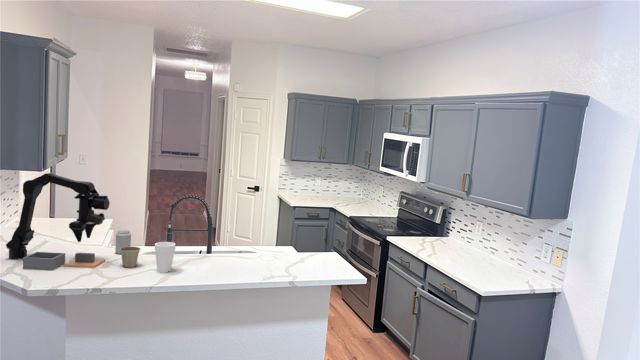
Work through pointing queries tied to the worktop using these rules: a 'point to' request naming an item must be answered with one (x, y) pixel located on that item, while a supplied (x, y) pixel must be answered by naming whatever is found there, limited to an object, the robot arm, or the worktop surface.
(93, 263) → the lid
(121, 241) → the can
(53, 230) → the worktop surface
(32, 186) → the robot arm
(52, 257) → the storage box
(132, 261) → the flower pot
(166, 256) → the foam cup
